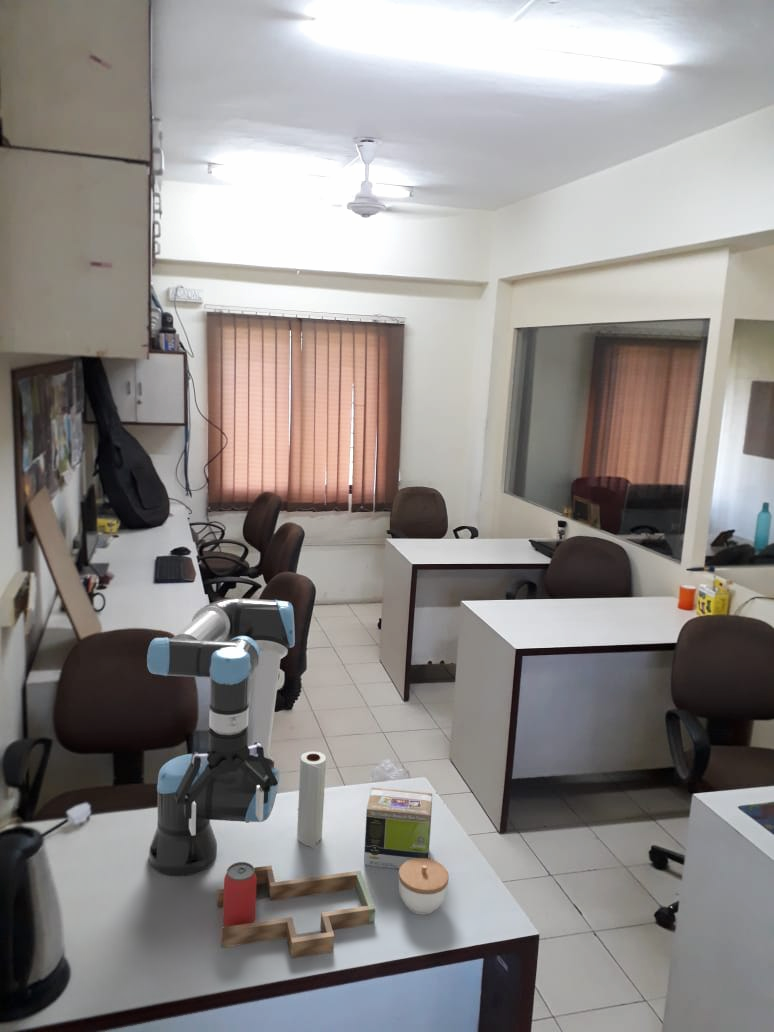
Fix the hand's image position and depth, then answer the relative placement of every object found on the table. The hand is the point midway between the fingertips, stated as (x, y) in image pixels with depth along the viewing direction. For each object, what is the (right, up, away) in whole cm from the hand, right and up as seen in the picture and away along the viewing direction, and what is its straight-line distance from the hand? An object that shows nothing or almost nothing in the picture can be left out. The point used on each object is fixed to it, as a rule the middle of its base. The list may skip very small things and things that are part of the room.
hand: (226, 824), depth 154 cm
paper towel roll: (+13, -17, +32) cm, 39 cm away
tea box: (+35, -19, +28) cm, 48 cm away
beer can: (+2, -22, +3) cm, 22 cm away
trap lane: (+13, -21, +7) cm, 26 cm away
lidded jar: (+40, -22, +12) cm, 47 cm away
